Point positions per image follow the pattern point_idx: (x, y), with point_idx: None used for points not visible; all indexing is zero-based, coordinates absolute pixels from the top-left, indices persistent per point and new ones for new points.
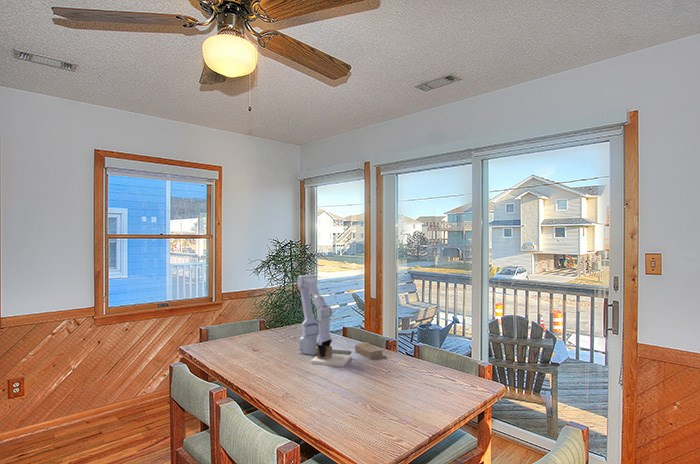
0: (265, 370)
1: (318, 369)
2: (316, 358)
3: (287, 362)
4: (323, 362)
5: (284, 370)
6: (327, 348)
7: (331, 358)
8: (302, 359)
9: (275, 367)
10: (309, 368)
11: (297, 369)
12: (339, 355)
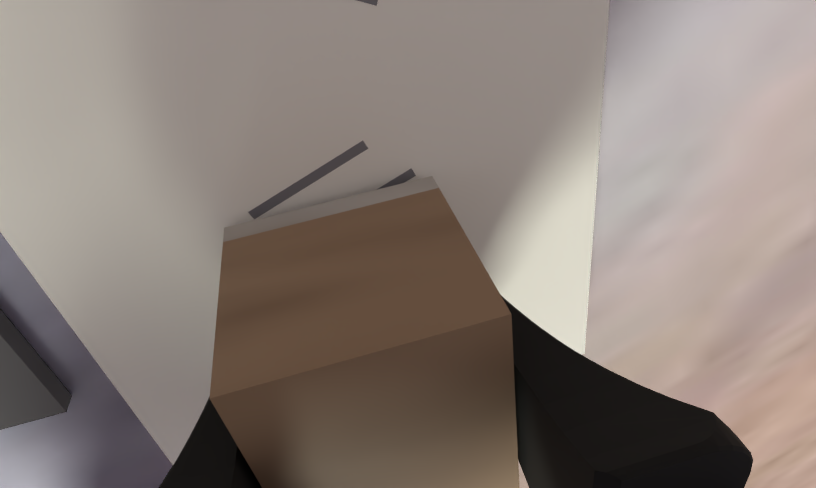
0: (800, 465)
1: (785, 99)
2: None
3: None
4: (590, 169)
5: (806, 378)
6: (469, 370)
7: (364, 151)
8: None
9: None
10: (747, 229)
11: (781, 312)
12: (38, 104)
